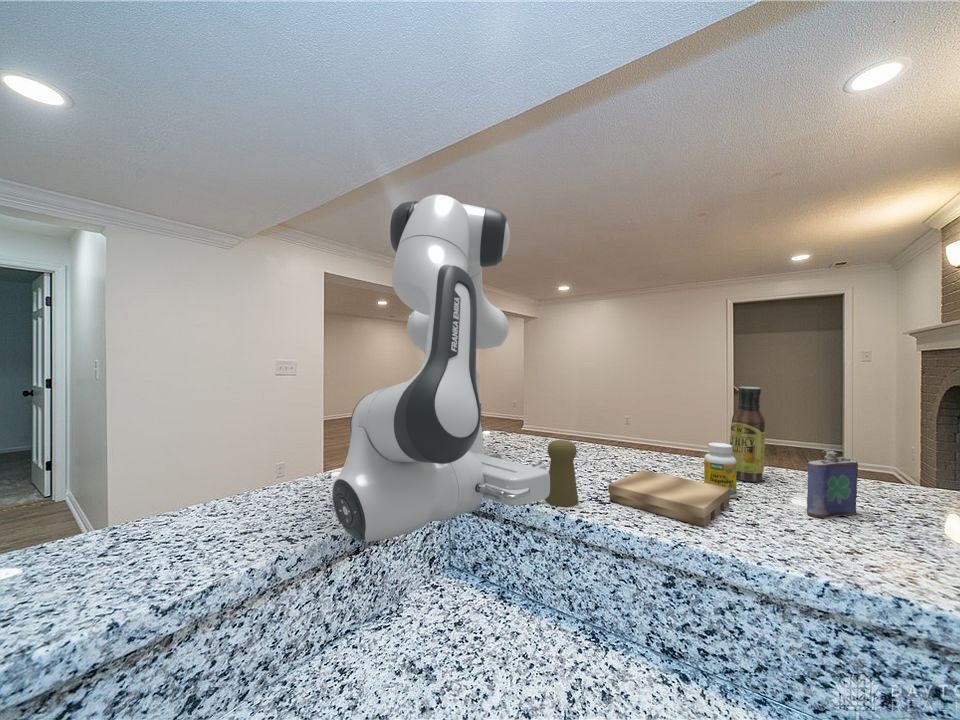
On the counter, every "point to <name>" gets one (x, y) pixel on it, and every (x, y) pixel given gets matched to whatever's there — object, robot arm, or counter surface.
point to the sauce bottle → (748, 436)
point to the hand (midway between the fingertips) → (519, 463)
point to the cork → (562, 474)
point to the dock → (671, 496)
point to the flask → (832, 486)
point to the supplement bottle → (720, 467)
